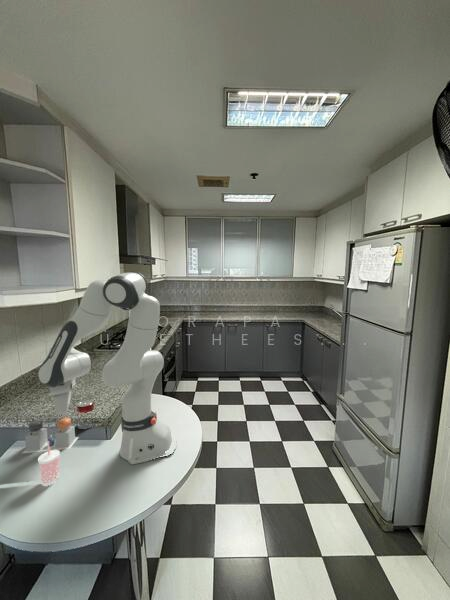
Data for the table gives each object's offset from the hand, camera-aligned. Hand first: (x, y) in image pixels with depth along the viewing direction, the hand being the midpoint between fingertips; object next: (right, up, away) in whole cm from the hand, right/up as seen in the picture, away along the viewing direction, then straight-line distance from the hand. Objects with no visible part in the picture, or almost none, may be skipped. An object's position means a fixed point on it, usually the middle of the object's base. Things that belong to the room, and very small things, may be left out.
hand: (65, 415), depth 103 cm
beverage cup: (+7, -14, -18) cm, 24 cm away
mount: (-6, -13, 0) cm, 14 cm away
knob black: (-11, -12, -1) cm, 16 cm away
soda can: (+1, -13, +14) cm, 19 cm away
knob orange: (0, -11, +1) cm, 11 cm away
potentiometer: (-6, -12, 0) cm, 13 cm away
